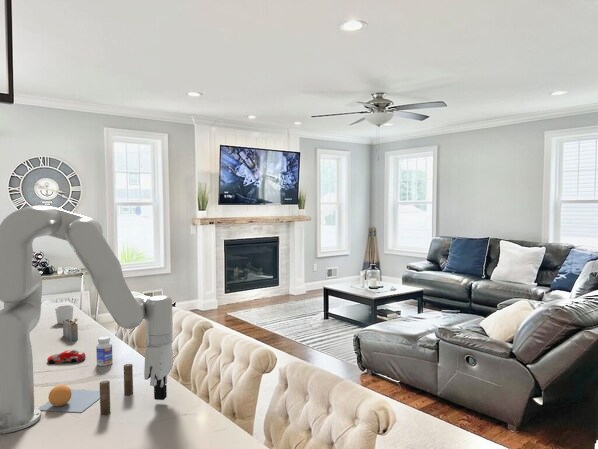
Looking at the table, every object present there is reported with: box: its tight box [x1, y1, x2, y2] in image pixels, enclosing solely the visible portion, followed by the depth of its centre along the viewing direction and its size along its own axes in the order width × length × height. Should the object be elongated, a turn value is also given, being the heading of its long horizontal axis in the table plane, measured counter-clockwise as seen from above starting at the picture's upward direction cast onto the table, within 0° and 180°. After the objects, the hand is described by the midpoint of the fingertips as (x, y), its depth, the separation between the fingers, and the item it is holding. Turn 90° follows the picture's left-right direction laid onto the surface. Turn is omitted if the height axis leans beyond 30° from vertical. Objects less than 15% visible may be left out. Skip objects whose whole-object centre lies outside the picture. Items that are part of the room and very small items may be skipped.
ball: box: [48, 384, 72, 407], centre depth 128 cm, size 6×6×6 cm
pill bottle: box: [95, 336, 114, 367], centre depth 162 cm, size 5×5×10 cm
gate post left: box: [99, 380, 111, 417], centre depth 123 cm, size 3×3×9 cm
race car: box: [46, 349, 87, 365], centre depth 165 cm, size 13×5×4 cm, turn 95°
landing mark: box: [37, 388, 100, 414], centre depth 132 cm, size 14×14×1 cm
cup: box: [54, 304, 74, 325], centre depth 220 cm, size 11×8×8 cm
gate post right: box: [123, 363, 134, 396], centre depth 136 cm, size 3×3×9 cm
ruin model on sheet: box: [62, 317, 79, 342], centre depth 194 cm, size 11×3×10 cm, turn 45°
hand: (160, 398), depth 130 cm, fingers closed
